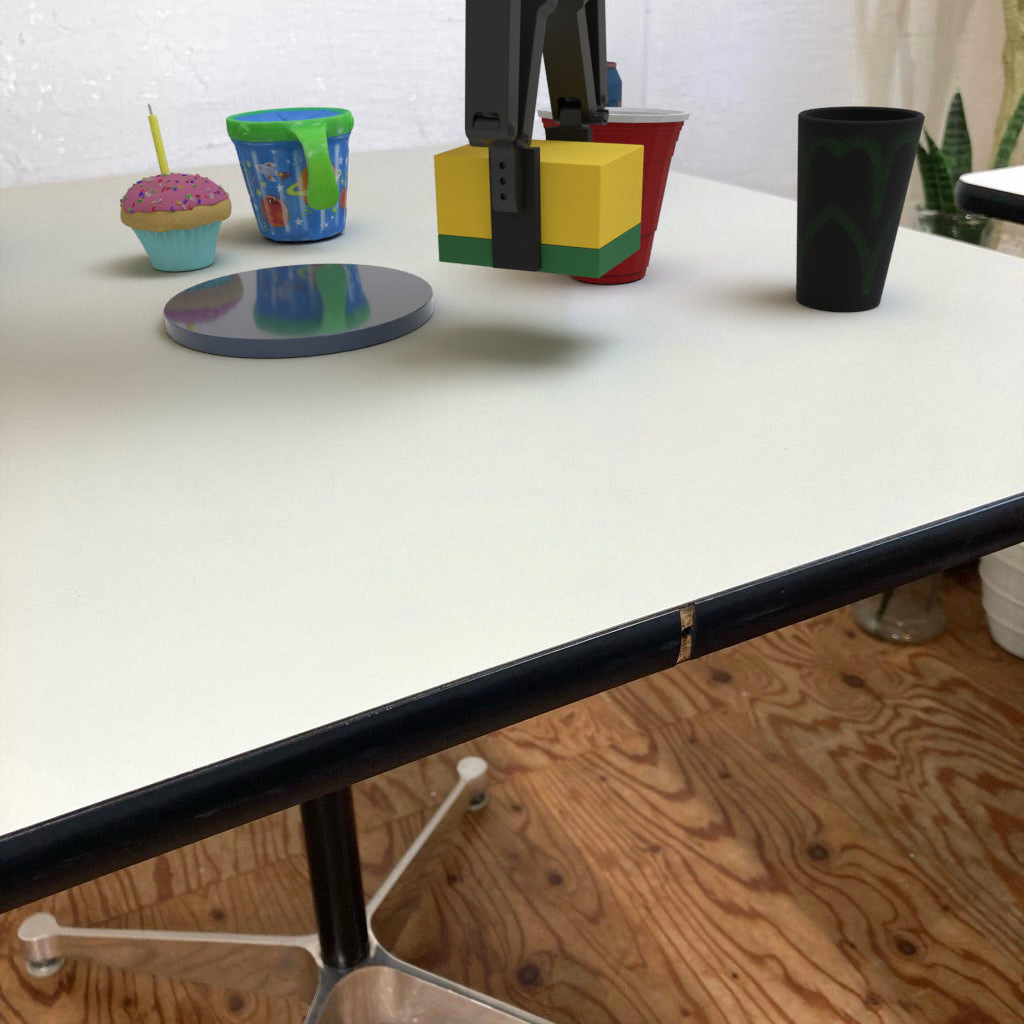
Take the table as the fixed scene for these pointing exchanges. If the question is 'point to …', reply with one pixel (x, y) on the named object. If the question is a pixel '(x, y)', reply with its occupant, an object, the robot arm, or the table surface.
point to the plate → (298, 310)
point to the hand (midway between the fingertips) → (544, 251)
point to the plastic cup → (659, 144)
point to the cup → (850, 201)
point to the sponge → (548, 205)
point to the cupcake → (175, 214)
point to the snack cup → (295, 169)
